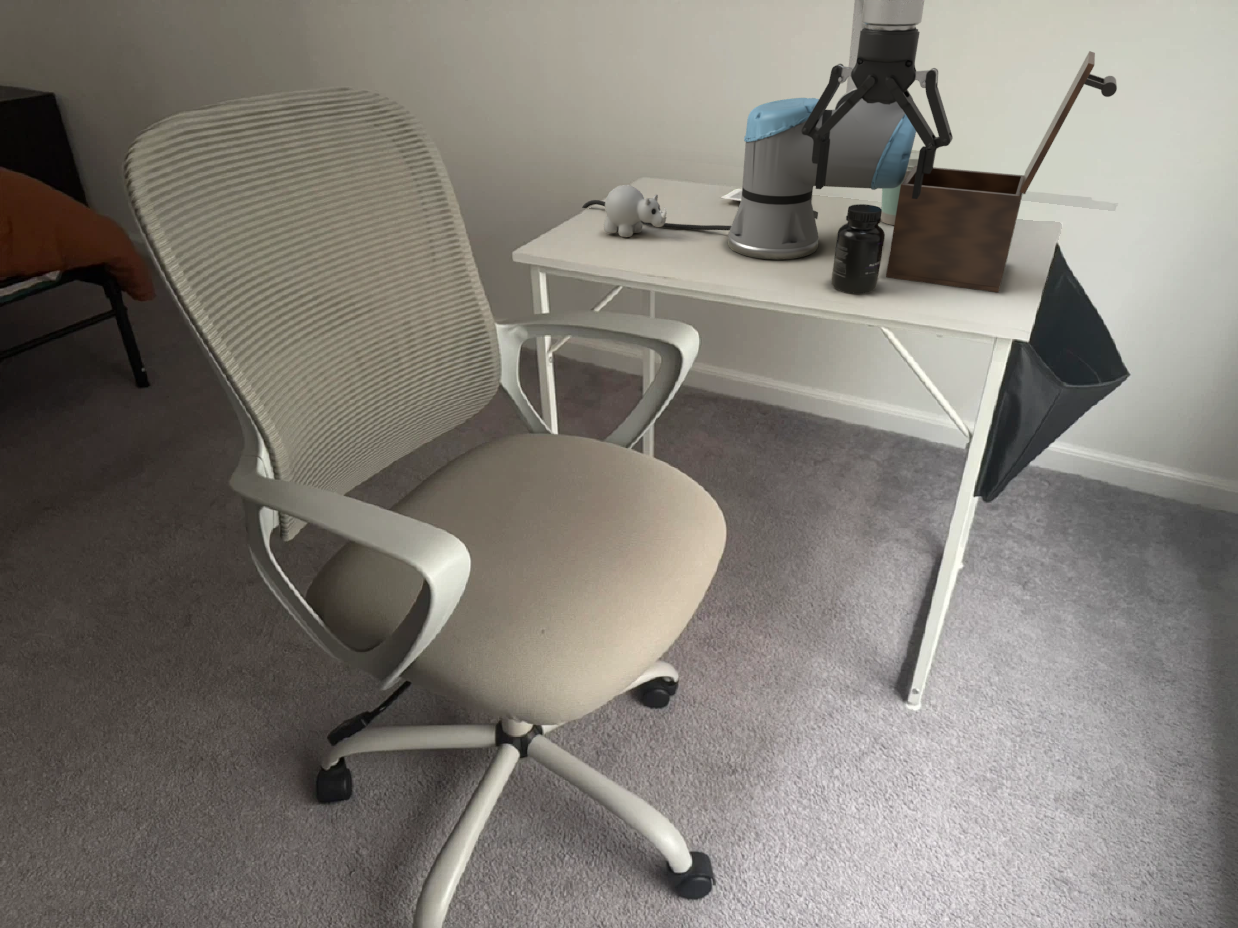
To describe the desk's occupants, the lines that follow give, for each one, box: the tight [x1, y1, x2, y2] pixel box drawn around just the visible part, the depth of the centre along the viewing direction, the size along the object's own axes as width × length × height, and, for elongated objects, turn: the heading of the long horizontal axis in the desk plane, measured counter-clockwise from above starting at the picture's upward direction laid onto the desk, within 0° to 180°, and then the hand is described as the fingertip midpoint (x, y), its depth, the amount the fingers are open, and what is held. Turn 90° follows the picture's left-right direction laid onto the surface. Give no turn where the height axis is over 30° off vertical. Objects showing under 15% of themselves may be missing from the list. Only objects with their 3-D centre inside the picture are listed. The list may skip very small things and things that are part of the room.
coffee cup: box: [880, 149, 920, 226], centre depth 156 cm, size 8×8×12 cm
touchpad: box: [720, 188, 742, 202], centre depth 169 cm, size 8×15×2 cm, turn 59°
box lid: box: [1020, 50, 1118, 195], centre depth 120 cm, size 17×13×5 cm
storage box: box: [885, 166, 1025, 293], centre depth 132 cm, size 17×13×14 cm
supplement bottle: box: [830, 203, 886, 295], centre depth 128 cm, size 7×7×12 cm
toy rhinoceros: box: [603, 184, 668, 238], centre depth 151 cm, size 7×12×8 cm, turn 57°
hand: (867, 191), depth 123 cm, fingers open, 13 cm apart
